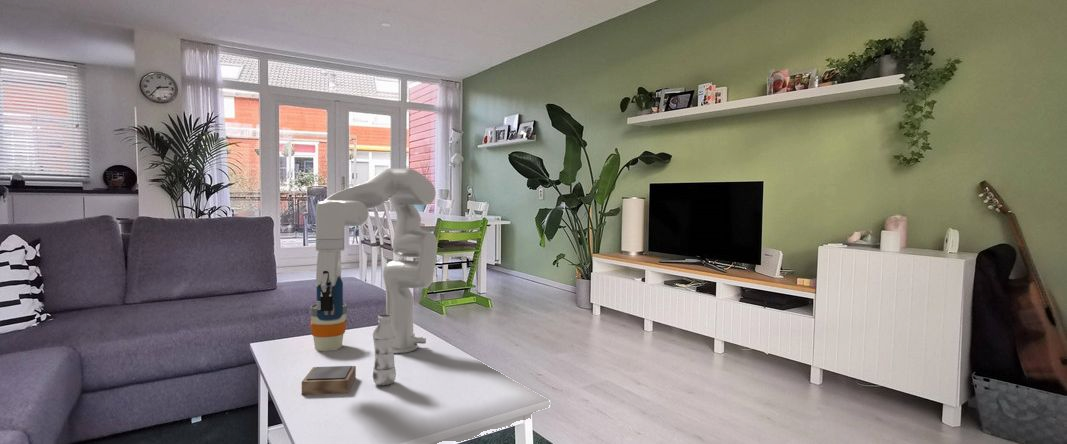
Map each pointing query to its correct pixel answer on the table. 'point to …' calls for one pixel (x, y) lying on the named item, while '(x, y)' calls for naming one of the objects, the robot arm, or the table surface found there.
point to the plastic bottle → (384, 351)
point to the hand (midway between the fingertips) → (330, 307)
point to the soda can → (337, 303)
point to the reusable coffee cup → (327, 330)
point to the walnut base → (329, 380)
